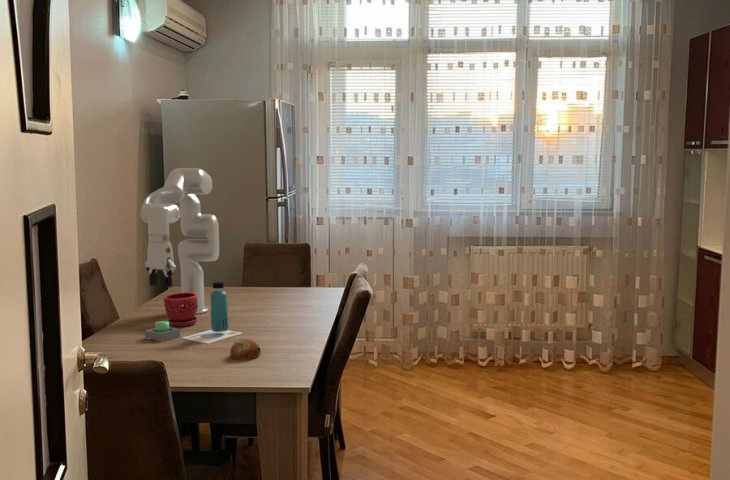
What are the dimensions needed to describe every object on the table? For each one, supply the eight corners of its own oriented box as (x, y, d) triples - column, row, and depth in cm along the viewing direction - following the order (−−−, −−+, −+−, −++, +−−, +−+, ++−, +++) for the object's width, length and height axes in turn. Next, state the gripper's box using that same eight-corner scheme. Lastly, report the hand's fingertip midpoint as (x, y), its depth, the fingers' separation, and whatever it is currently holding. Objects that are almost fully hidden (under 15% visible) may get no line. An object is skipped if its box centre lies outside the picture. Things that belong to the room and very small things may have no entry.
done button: (152, 333, 280) (152, 323, 280) (163, 330, 284) (163, 320, 284) (161, 335, 277) (161, 324, 277) (172, 332, 281) (171, 322, 281)
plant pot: (187, 319, 312) (186, 290, 310) (204, 324, 303) (203, 295, 301) (159, 324, 303) (157, 295, 301) (175, 329, 294) (174, 299, 292)
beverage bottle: (223, 336, 281) (222, 284, 278) (208, 335, 283) (206, 283, 280) (231, 332, 287) (230, 281, 284) (216, 331, 289) (214, 280, 286)
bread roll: (237, 362, 260) (226, 342, 259) (263, 349, 261) (253, 329, 259) (235, 371, 251) (223, 350, 249) (262, 357, 251) (251, 336, 250)
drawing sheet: (181, 338, 280) (181, 337, 279) (216, 328, 294) (216, 327, 294) (207, 343, 272) (207, 342, 272) (242, 333, 286) (242, 332, 286)
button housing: (145, 338, 280) (144, 330, 280) (164, 333, 287) (163, 325, 287) (161, 341, 275) (160, 333, 274) (180, 336, 282) (179, 329, 282)
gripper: (182, 239, 275) (184, 286, 277) (151, 236, 284) (153, 282, 287) (166, 241, 269) (168, 289, 271) (135, 238, 278) (137, 285, 281)
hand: (160, 285), depth 279 cm, fingers open, 7 cm apart
